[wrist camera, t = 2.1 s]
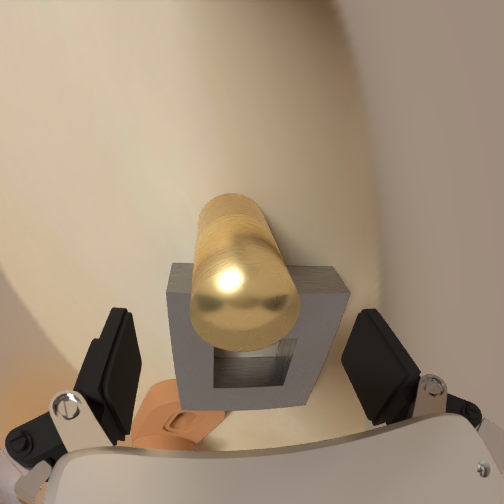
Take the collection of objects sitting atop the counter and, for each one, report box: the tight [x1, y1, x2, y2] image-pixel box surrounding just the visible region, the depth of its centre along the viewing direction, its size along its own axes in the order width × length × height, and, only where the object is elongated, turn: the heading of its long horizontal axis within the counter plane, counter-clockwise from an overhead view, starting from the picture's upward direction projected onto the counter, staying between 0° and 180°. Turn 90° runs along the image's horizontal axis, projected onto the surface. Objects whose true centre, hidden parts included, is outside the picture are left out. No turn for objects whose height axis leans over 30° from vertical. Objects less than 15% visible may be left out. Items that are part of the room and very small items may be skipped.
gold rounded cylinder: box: [190, 194, 300, 352], centre depth 15 cm, size 4×4×9 cm
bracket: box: [131, 379, 225, 451], centre depth 27 cm, size 18×8×7 cm, turn 150°
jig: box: [166, 263, 350, 411], centre depth 22 cm, size 14×12×4 cm
